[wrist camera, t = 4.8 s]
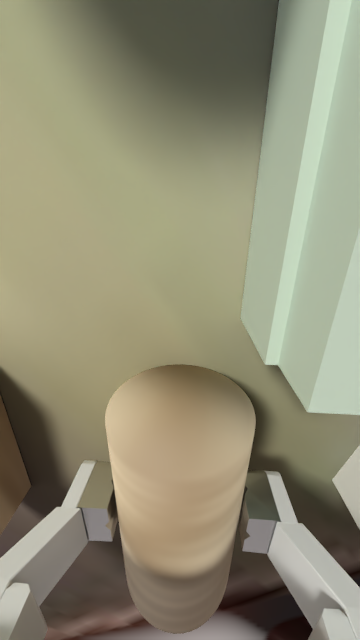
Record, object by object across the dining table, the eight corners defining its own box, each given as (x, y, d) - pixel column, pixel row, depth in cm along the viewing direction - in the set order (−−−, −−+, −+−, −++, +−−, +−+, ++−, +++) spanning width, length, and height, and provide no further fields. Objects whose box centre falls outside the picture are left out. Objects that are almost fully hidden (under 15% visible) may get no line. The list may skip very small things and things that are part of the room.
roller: (239, 367, 9) (278, 482, 5) (222, 498, 12) (238, 638, 8) (127, 362, 9) (75, 470, 5) (138, 493, 12) (110, 628, 8)
